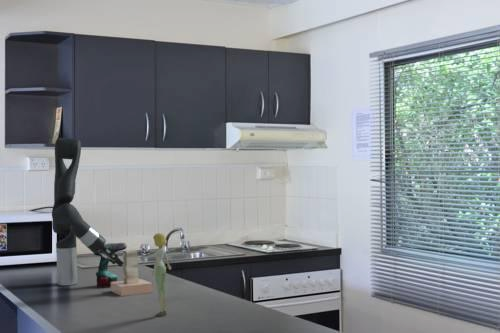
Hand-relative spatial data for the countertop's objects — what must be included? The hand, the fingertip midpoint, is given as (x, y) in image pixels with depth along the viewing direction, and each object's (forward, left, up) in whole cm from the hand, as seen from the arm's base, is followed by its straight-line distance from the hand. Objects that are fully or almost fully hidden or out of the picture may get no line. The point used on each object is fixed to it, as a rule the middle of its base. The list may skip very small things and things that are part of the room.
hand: (118, 263), depth 302 cm
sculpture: (+52, -2, -13) cm, 54 cm away
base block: (0, +5, -13) cm, 14 cm away
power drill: (-19, +2, -13) cm, 23 cm away
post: (0, +5, -9) cm, 10 cm away
